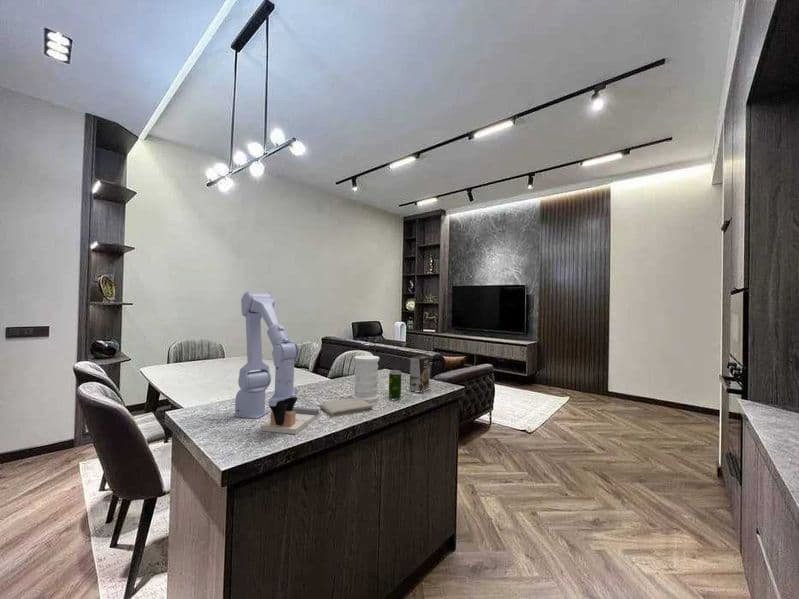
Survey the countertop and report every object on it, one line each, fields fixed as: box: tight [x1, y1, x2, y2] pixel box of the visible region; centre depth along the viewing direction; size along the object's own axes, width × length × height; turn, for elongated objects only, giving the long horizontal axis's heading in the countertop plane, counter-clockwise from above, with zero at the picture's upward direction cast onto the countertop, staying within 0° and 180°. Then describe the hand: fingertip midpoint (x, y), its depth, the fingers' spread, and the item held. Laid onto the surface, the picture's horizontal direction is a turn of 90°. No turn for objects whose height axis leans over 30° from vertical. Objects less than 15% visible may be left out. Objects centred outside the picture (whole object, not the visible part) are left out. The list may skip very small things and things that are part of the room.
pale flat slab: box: [259, 411, 307, 435], centre depth 110 cm, size 12×7×5 cm, turn 80°
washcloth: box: [319, 397, 374, 418], centre depth 132 cm, size 12×18×3 cm, turn 124°
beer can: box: [388, 369, 402, 401], centre depth 149 cm, size 5×5×12 cm
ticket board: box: [292, 406, 322, 427], centre depth 120 cm, size 13×12×3 cm
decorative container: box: [351, 354, 380, 403], centre depth 148 cm, size 12×12×18 cm
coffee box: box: [408, 355, 431, 392], centre depth 165 cm, size 9×6×16 cm
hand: (282, 422), depth 110 cm, fingers open, 4 cm apart
